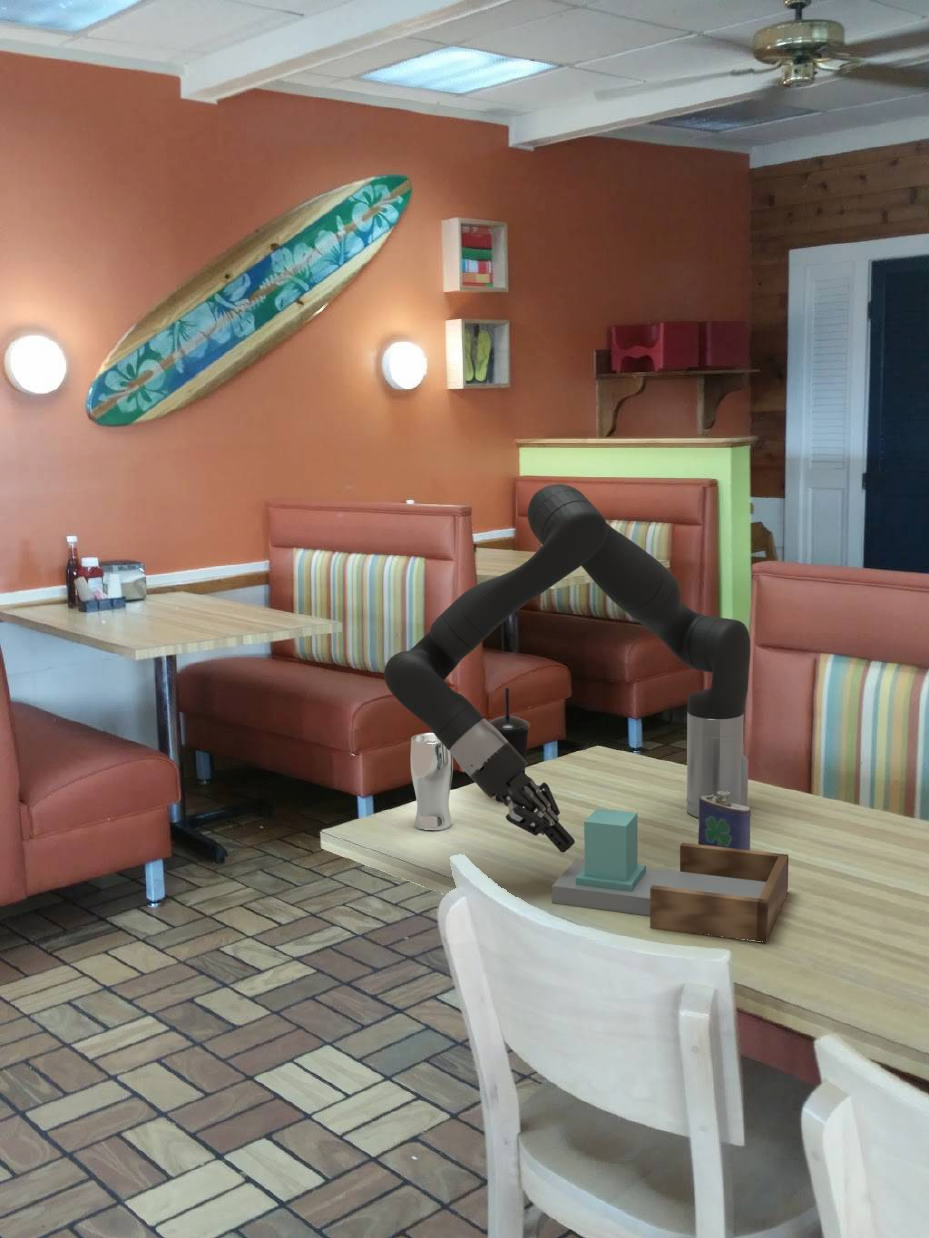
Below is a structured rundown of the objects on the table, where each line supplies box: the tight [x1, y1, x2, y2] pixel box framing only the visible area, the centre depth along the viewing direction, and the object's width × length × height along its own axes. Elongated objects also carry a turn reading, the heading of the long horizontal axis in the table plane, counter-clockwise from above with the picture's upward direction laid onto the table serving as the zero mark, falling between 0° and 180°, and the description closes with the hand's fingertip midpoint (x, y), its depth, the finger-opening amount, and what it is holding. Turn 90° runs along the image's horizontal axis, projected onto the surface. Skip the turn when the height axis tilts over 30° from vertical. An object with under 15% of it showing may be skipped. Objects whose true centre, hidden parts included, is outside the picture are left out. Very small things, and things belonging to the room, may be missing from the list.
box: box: [649, 842, 789, 943], centre depth 176 cm, size 15×18×6 cm
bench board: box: [551, 858, 766, 917], centre depth 180 cm, size 28×11×2 cm, turn 68°
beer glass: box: [410, 732, 454, 831], centre depth 213 cm, size 7×7×15 cm
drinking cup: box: [488, 687, 531, 804], centre depth 225 cm, size 8×8×20 cm
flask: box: [697, 791, 752, 850], centre depth 195 cm, size 9×3×11 cm, turn 41°
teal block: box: [576, 808, 647, 892], centre depth 182 cm, size 8×8×9 cm
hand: (569, 847), depth 184 cm, fingers closed
